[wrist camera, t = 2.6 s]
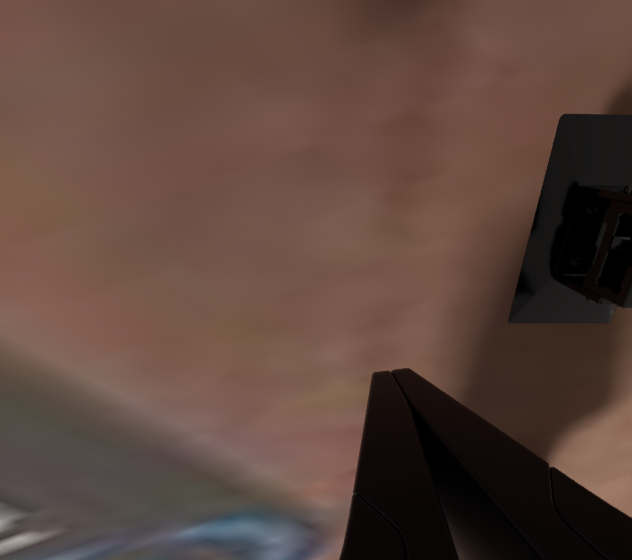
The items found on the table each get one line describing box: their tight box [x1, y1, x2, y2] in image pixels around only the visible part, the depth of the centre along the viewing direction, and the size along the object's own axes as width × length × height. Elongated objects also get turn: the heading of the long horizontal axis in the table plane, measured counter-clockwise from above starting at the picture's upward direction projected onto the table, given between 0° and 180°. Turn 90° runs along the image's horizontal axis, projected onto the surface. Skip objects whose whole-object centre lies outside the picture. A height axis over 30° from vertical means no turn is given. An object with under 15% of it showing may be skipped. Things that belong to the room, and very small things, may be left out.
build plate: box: [508, 114, 632, 323], centre depth 14 cm, size 12×7×5 cm, turn 178°
